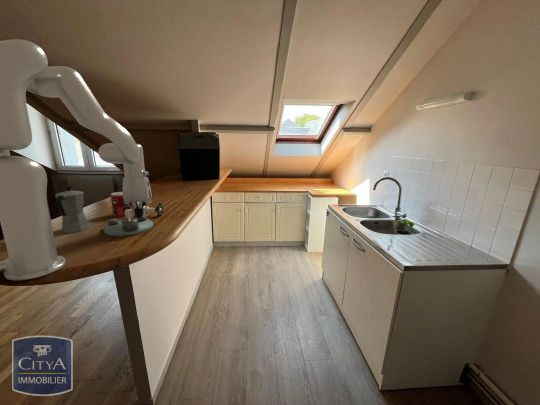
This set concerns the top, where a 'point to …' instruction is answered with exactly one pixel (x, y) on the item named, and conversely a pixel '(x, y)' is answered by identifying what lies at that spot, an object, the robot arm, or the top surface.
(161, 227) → the top surface
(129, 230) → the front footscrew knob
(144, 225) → the instrument base
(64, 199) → the coffeepot
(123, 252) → the top surface
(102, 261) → the top surface
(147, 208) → the valve
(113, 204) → the canned food
